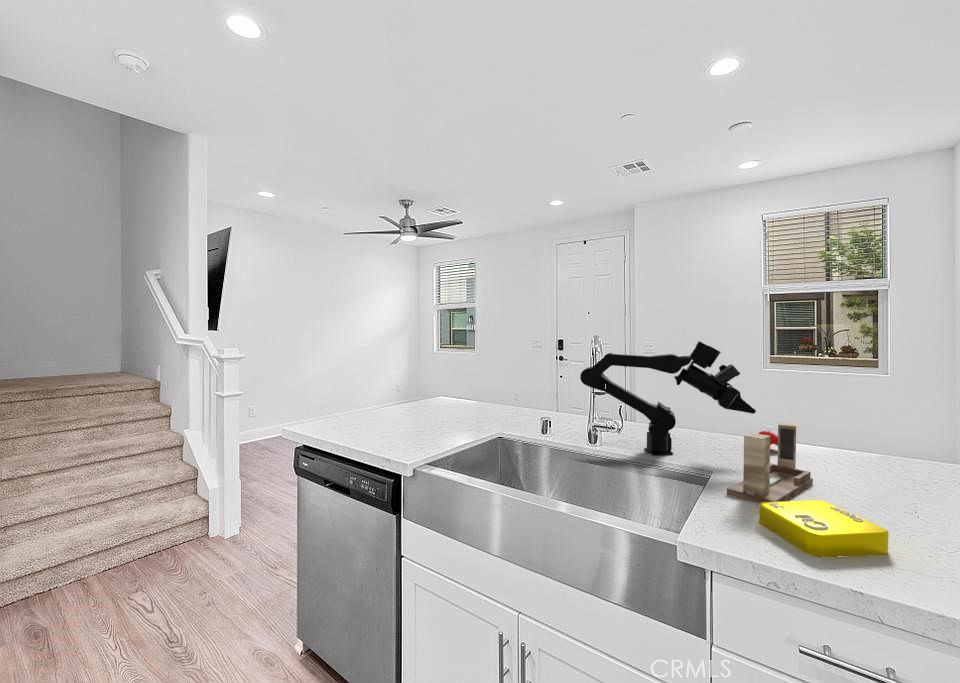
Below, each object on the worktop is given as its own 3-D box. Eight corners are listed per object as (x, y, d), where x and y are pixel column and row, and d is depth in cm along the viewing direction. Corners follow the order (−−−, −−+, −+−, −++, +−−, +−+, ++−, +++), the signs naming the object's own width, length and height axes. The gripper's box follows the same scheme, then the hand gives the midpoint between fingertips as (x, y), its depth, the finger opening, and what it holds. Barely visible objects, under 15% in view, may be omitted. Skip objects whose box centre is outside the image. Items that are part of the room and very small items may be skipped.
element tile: (894, 556, 78) (895, 529, 78) (814, 560, 77) (814, 533, 77) (822, 519, 93) (822, 496, 93) (754, 522, 92) (754, 499, 92)
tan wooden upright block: (777, 467, 125) (778, 421, 125) (794, 470, 123) (795, 423, 122) (777, 472, 121) (778, 425, 121) (795, 475, 119) (796, 426, 119)
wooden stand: (774, 508, 98) (775, 442, 97) (726, 494, 106) (727, 433, 105) (812, 484, 112) (813, 426, 112) (768, 473, 120) (769, 420, 120)
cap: (754, 441, 141) (773, 433, 138) (752, 431, 146) (771, 423, 143) (769, 460, 142) (789, 454, 138) (766, 450, 147) (785, 443, 143)
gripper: (721, 360, 125) (776, 390, 121) (713, 356, 143) (761, 382, 138) (698, 393, 128) (751, 424, 123) (693, 385, 145) (739, 412, 141)
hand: (751, 409), depth 131 cm, fingers open, 9 cm apart
